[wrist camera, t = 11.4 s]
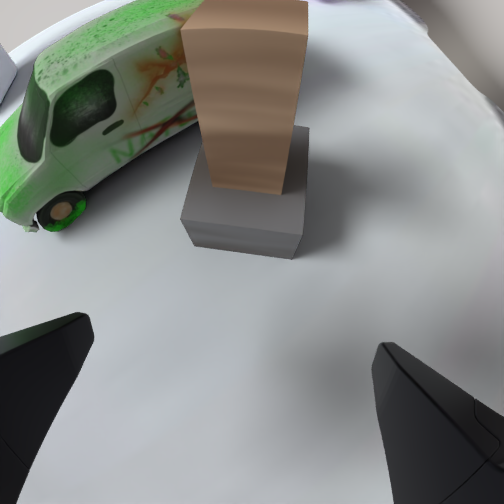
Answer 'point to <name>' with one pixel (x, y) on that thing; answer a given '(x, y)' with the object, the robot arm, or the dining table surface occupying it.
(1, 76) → the plastic bottle
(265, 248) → the tall wooden pillar block
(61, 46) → the toy car
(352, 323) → the dining table surface
